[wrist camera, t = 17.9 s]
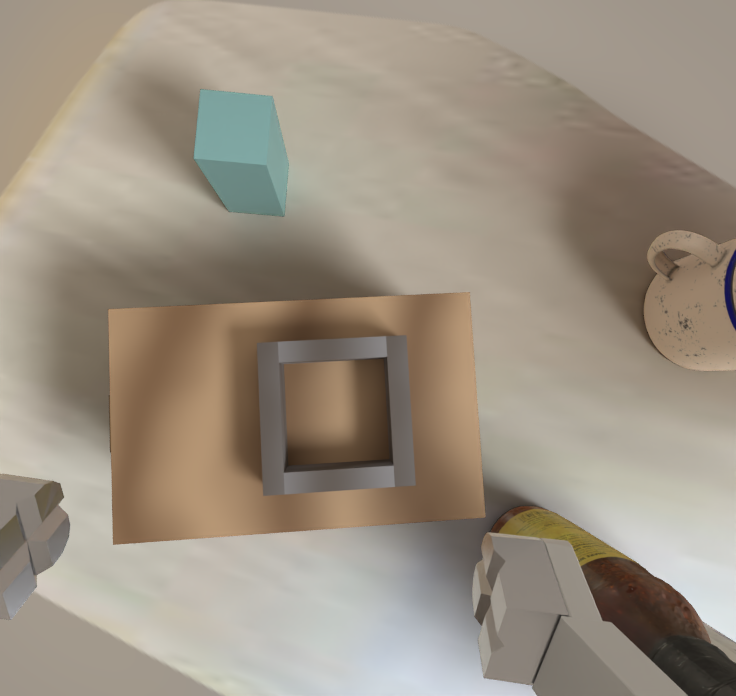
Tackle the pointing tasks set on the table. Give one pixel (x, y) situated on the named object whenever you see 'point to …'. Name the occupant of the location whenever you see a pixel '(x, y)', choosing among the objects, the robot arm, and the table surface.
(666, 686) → the robot arm
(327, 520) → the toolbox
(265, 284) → the table surface
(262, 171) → the teal rectangular block
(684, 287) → the teacup with lid
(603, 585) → the sauce bottle
